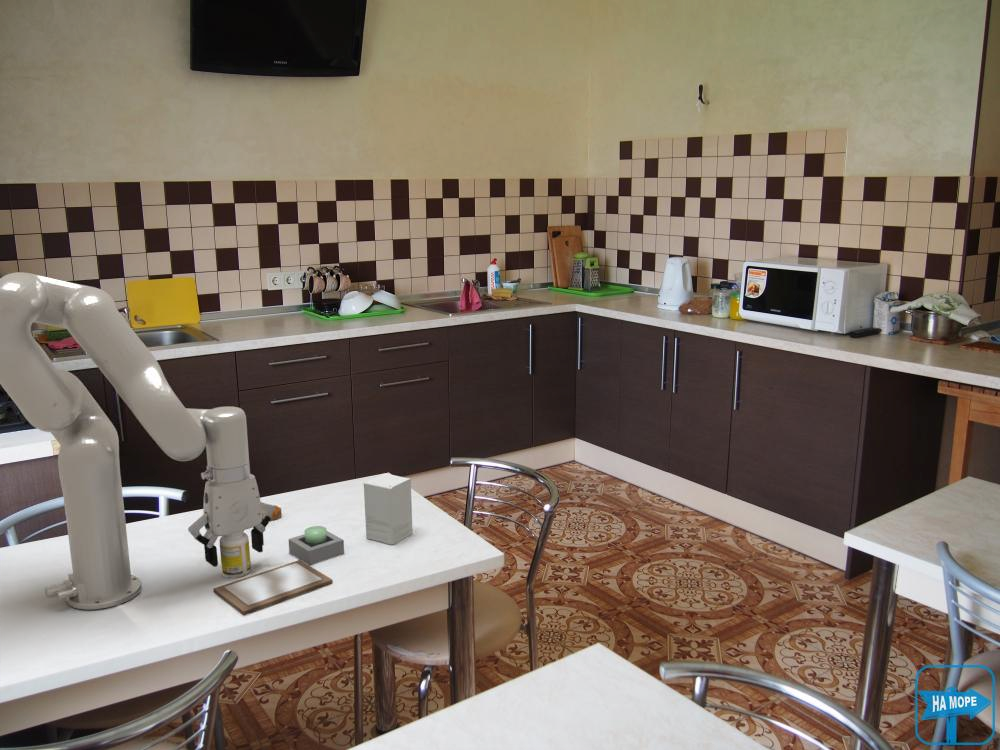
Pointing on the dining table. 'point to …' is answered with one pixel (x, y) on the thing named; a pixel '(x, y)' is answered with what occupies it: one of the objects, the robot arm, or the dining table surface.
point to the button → (315, 534)
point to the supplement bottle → (235, 554)
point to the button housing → (316, 548)
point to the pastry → (275, 513)
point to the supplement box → (388, 508)
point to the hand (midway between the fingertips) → (235, 556)
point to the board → (272, 587)
